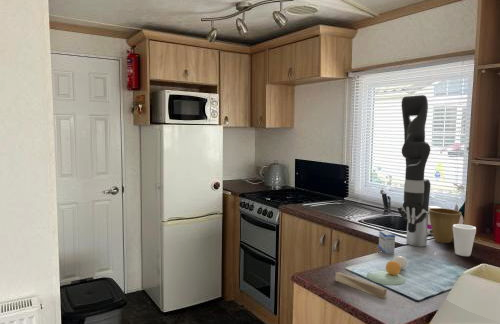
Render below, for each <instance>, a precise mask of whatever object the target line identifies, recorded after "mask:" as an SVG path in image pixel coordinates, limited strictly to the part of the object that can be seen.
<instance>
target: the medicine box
mask: <svg viewBox="0 0 500 324" xmlns="http://www.w3.org/2000/svg"><path fill="white" fill-rule="evenodd" d="M395 244H396V235H395V234H393V233H392V232H390V231H387V230H379V235H378V250H380V251H382V252H383V253H384V254H395V249H396V247H395V246H396V245H395Z"/></svg>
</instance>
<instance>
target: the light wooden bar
mask: <svg viewBox="0 0 500 324" xmlns="http://www.w3.org/2000/svg"><path fill="white" fill-rule="evenodd" d="M335 282H338V283H341V284H343V285H346V286H349V287H351V288H354V289H357V290H358V291H360V292H361V291H362V292H364V293H366V294H369V295H372V296H373V297H377V298H380V299H382V300H384V299H386V298H387V291H388V290H387V288H385V287H382V286H380V285H377V284H375V283H371V282H368V281H366V280H363V279H361V278H357V277H354V276H352V275H349V274H346V273H344V272H341V271H338V272H335Z"/></svg>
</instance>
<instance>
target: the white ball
mask: <svg viewBox="0 0 500 324" xmlns="http://www.w3.org/2000/svg"><path fill="white" fill-rule="evenodd" d="M392 261H395V262H397V263H398V264H399V265H400V268H401V270H404V269H406V268H407V266H408V260H407V258H406V257H404V256H402V255H397V256H394V257H393V260H392ZM401 270H400V271H401Z"/></svg>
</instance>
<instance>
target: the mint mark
mask: <svg viewBox="0 0 500 324" xmlns="http://www.w3.org/2000/svg"><path fill="white" fill-rule="evenodd" d="M374 271H375V272H377V273H375V274H373V273H370V272H371V271H370V272H367V274H366V277H367V279H369V280H370V281H372V282H374V283H377V284H381V285H386V286H398V285H403V284H404V283H406V278H405V277H404V276H403V275H401V274H400V273H399V274H397V275H390V274H389V273H388V272H387V271H386V270H374Z"/></svg>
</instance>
